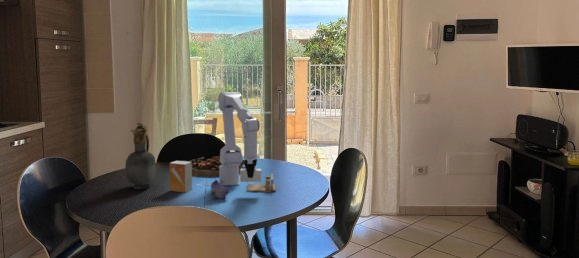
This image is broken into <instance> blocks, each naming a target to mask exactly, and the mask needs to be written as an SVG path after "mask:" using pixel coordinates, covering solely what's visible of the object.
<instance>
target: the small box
mask: <svg viewBox="0 0 579 258" xmlns="http://www.w3.org/2000/svg"><path fill="white" fill-rule="evenodd" d="M192 162H193V161H187V160H175V161H171V162H169V166H168V167H169V191H170V192H178V193H183V194H184V193H188V192H190V191H191V190H193V176H192V165H193V163H192Z"/></svg>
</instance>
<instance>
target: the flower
mask: <svg viewBox="0 0 579 258" xmlns="http://www.w3.org/2000/svg"><path fill="white" fill-rule="evenodd" d="M221 184H222V182H220V183H219V180H218V179H214V181H213V182H211V184H210V190H211V192H210V193H209V195H208V201H209V202H211V201H212V198H213V196H214V197H216V198H218V199H220V200H224V199H227V198H226V197H227V195H228V194H229V193H230V189H229V188H228V187H227V186H225V185H221Z"/></svg>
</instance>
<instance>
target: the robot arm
mask: <svg viewBox="0 0 579 258" xmlns="http://www.w3.org/2000/svg"><path fill="white" fill-rule="evenodd" d="M242 97H243V95H242V94H241V92H240V91H226V92H225V91H224V92H223V91H221V92H219V94H218V98H217V100H218V108H219V109H218V110H220V111H221V112H222V119H223V120H222V121H223V123H222V124H223V131H224V133H223V134H224V143H225V145H224V146H223V147H222V148H220V150H219V151H220V153H219V156H220V162H221V164H222V165H221V166H220V167H219V176H218V177H219V178H218V183H220V182H222V184H221V186H240V183H241V182H240V172H239V165H240V164H241V163H242V160H244V161H245V162H244V164H243V166H244V167H246V168H245V169H246V170H247V176H248V178H253V175H254V169H256V165H257V164H258V159H260V158H261V156H260V155H258V132H259V131H260V127H261V126H260V121H259V119H258V118H257V117H254V116H253V115H252V113H251V112H250V110H249V109H248V108H246V107H245V106H244V104H243V98H242ZM234 111H236V112H237V113H236V117H237V118H238V120H239V122H240V124H241V131H242V136H243V153H242V149H241V147H239V145H237V144H236V133H235V122H234V120H235V119H234Z"/></svg>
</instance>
